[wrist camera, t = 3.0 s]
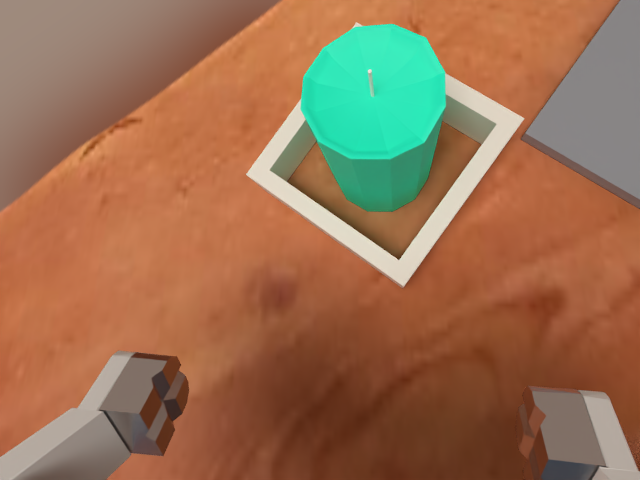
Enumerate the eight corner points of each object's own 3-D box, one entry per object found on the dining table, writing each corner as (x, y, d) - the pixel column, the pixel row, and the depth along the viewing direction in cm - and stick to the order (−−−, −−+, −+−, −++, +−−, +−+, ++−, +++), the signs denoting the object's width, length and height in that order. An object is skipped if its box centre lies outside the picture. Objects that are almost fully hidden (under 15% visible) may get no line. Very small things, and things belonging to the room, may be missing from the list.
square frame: (361, 54, 30) (356, 22, 26) (508, 141, 27) (524, 118, 24) (263, 189, 29) (245, 174, 26) (402, 288, 27) (403, 286, 24)
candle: (346, 223, 28) (309, 167, 17) (325, 135, 29) (276, 24, 18) (440, 199, 27) (473, 122, 16) (416, 110, 28) (428, -25, 17)
